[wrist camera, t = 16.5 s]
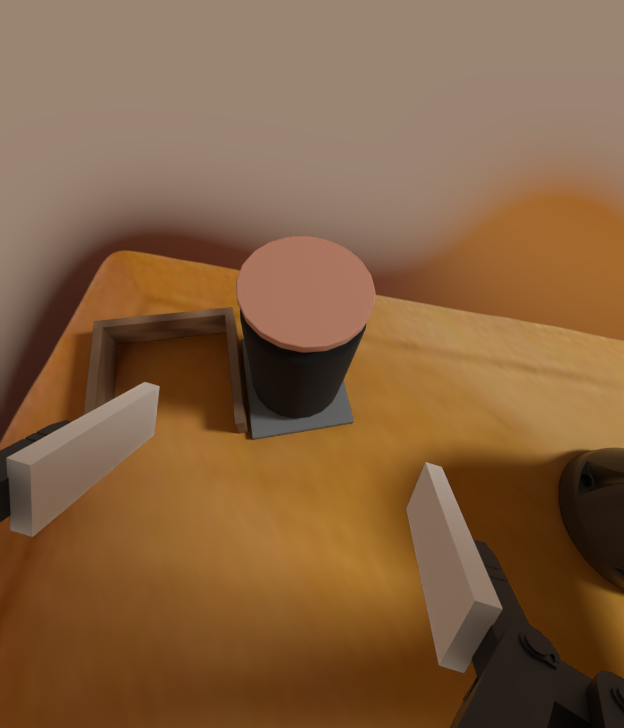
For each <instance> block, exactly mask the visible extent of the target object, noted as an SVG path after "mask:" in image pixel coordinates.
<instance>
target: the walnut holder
mask: <svg viewBox="0 0 624 728" xmlns="http://www.w3.org/2000/svg"><path fill="white" fill-rule="evenodd" d="M223 332H227V342H228V353H229V364H230V375H231V386H232V396H233V407H234V418H235V425H236V427H237V430H238V432H239V434H240V433H246V432H248V428H247V419H246V410H245V401H244V391H243V382H242V373H241V364H240V354H239V345H238V336H237V327H236V321H235V316H234V312H233V307H230V308H220V309H210V310H200V311H190V312H181V313H171V314H161V315H151V316H141V317H131V318H121V319H111V320H101V321H94V325H93V334H92V343H91V352H90V361H89V370H88V380H87V389H86V398H85V407H84V415H85V414H87V413H89V412H91V411H93V410H94V409H96V408H98V407H100V406H102V405H104V404H105V403H107V402H109V401H111V400H113V399H114V388H115V374H116V360H117V346H118V344H126V343H135V342H144V341H152V340H161V339H170V338H179V337H188V336H197V335H206V334H215V333H223Z"/></svg>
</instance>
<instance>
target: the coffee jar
mask: <svg viewBox="0 0 624 728" xmlns="http://www.w3.org/2000/svg"><path fill="white" fill-rule="evenodd" d="M236 289H237V302H238V305H239V307H240V319H241V325H242V330H243V335H244V341H245V346H246V351H247V356H248V361H249V366H250V372H251V377H252V382H253V387H254V389H255V391H256V394H257V396H258V398H259V399H260V401H261V402H262V403H263V404H264V405H265V406H266V407H267V408H268V409H269V410H271V411H273V412H275V413H276V414H278V415H280V416H284V417H289V418H294V419H296V418H306V417H311V416H313V415H315V414H318V413H320V412H322V411H323V410H324V409H326V408H327V407H328V406H329V405H330V404H331V403H332V402H333V400H334V398H335V397H336V395H337V393H338V391H339V389H340V386H341V384H342V382H343V380H344V377H345V375H346V373H347V370H348V368H349V366H350V363H351V361H352V359H353V356H354V354H355V352H356V350H357V347H358V345H359V343H360V340H361V338H362V336H363V333H364V331H365V328H366V322H367V320H368V319H369V317H370V315H371V313H372V312H373V308H374V301H375V289H374V285H373V281H372V277H371V275H370V273H369V272H368V270H367V269H366V267H365V266H364V264H363V263H362V261H361V260H360V259H358V258H357V257H356V256H355V255H354V254H353V253H351V252H350V251H349V250H348V249H346V248H344V247H342V246H340V245H338V244H336V243H333V242H331V241H329V240H325V239H320V238H315V237H311V236H301V237H300V236H297V237H286V238H283V239H279V240H275V241H272V242H270V243H268V244H266V245H265V246H263V247H261V248H259V249H258V250H256V251H254V252H253V254H252V255H251V256H250V257H249V258H248V259H247V260H246V262H245V263H244V264H243V265H242V268H241V271H240V273H239V276H238V278H237V281H236Z"/></svg>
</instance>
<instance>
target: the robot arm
mask: <svg viewBox="0 0 624 728" xmlns="http://www.w3.org/2000/svg"><path fill="white" fill-rule="evenodd" d="M159 387H160V386H157V385H154V384H150V383H147V382H144V383H142V384H140V385H138V386H136V387H134V388H133V389H131V390H129V391H127V392H125V393H124V394H122V395H120V396H118V397H116V398H114V399H113V400H111V401H109V402H107V403H105V404H104V405H102V406H100V407H98V408H96V409H94V410H93V411H91V412H89V413H87V414H85V415H84V416H82V417H80V418H78V419H76V420H74V421H73V422H70V421H67V420H66V421H62V422H59V423H55V424H52V425H49V426H47V427H45V428H43V429H41V430H39V431H37V433H36V434H35V433H34V434H32V435H30V436H28V437H26V439H22V440H20V441H18V442H16V443H14V444H12V445H11V446H9V447H7V448H5V449H3V450H1V451H0V522H1V521H3V520H4V519H6V518H7V517H8V516H10V530H11V531H14V532H18V533H21V534H24V535H27V536H30V537H33V536H35V535H36V534H37V533H38V532H39V531H40V530H42V529H43V528H44V527H45V526H46V525H48V524H49V523H50V522H51V521H52V520H54V519H55V518H56V517H57V516H58V515H60V514H61V513H62V512H63V511H64V510H65V509H67V508H68V507H69V506H70V505H71V504H73V503H74V502H75V501H76V500H77V499H79V498H80V497H81V496H82V495H83V494H85V493H86V492H87V491H88V490H89V489H90V488H92V487H93V486H94V485H95V484H96V483H98V482H99V481H100V480H101V479H102V478H104V477H105V476H106V475H107V474H108V473H110V472H111V471H112V470H113V469H114V468H116V467H117V466H118V465H119V464H120V463H121V462H123V461H124V460H125V459H126V458H127V457H129V456H130V455H131V454H132V453H133V452H135V451H136V450H137V449H138V448H139V447H141V446H142V445H143V444H144V443H145V442H146V441H148V440H149V439H150V438H151V437H152V436H154V434H155V424H156V415H157V406H158V396H159ZM559 501H560V508H561V512H562V516H563V519H564V522H565V525H566V527H567V530H568V532H569V534H570V536H571V538H572V540H573V541H574V543H575V545H576V546H577V548H578V549H579V551H580V552H581V553H582V555H583V556H584V557H585V559H586V560H587V561H588V562H589V563H590V564H591V565H592V566H593V567H594V568H595V569H596V570H597V571H598V572H599V573H600V574H601V575H602V576H604V577H605V578H606V579H607V580H609V581H610V582H612V583H613V584H615V585H616V586H618V587H620V588H622V589H624V448H604V449H598V450H594V451H590V452H586V453H583V454H581V455H579V456H577V457H575V458H574V459H573V460H572V461H571V462H570V463H569V464H568V465H567V467H566V468H565V470H564V472H563V474H562V477H561V481H560V487H559ZM406 511H407V516H408V520H409V525H410V530H411V535H412V540H413V544H414V549H415V554H416V559H417V564H418V568H419V573H420V578H421V583H422V588H423V592H424V597H425V602H426V607H427V611H428V616H429V621H430V626H431V631H432V635H433V640H434V645H435V650H436V655H437V659H438V664H439V666H442V667H445V668H448V669H452V670H455V671H458V672H461V673H465V671H466V669H467V668H468V666H469V664H470V663H471V661H473V665H474V668H475V671H476V675H477V677H476V679H475V681H474V682H473V684H472V685H471V687H470V689H469V690H468V692H467V693H466V695H465V697H464V698H463V700H464V701H463V703H462V705H461V707H460V709H459V710H458V712H457V714H456V716H455V718H454V720H453V722H452V724H451V726H450V728H624V679H623V678H621V677H619V676H617V675H615V674H613V673H612V672H606V671H601V672H600V673H598V674H597V675H596V676H595V677H594V679H593V680H592V679H591V678H589V677H587V676H586V675H584V674H582V673H581V672H579V671H577V670H576V669H574V668H572V667H571V666H569V665H567V664H566V663H564V662H563V661H561V659H560V657H559V655H558V652H557V651H556V650H555V648H554V647H553V645H552V644H551V643H550V641H549V640H548V639H547V638H546V637H545V636H544V635H543V634H542V633H541V632H539V631H538V630H536V629H535V628H533V627H532V626H530V625H529V623H528V621H527V619H526V617H525V615H524V613H523V611H522V609H521V607H520V605H519V603H518V601H517V599H516V597H515V595H514V593H513V590H512V588H511V586H510V584H508V580H507V578H506V576H505V574H504V572H502V568H501V566H500V564H499V562H498V559H497V557H496V556H495V555H494V553H493V552H492V551H491V550H490V549H489V547H488V546H487V545H486V544H485V543H483V542H480V541H476V540H473V538H472V536H471V534H470V531H469V529H468V527H467V525H466V522H465V520H464V518H463V515H462V513H461V511H460V508H459V506H458V504H457V501H456V499H455V497H454V494H453V492H452V490H451V487H450V485H449V483H448V480H447V478H446V476H445V473H444V471H443V469H442V467H441V466H437V465H434V464H430V463H427V462H425V464H424V467H423V469H422V472H421V474H420V476H419V479H418V481H417V484H416V486H415V489H414V491H413V493H412V496H411V498H410V501H409V503H408V505H407V508H406Z"/></svg>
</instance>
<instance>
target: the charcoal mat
mask: <svg viewBox="0 0 624 728" xmlns="http://www.w3.org/2000/svg"><path fill="white" fill-rule="evenodd" d="M242 349H243V357H244V366H245V375H246V384H247V393H248V402H249V410H250V419H251V428H252V437H253V440H255V439H261V438H268V437H274V436H280V435H286V434H292V433H298V432H304V431H310V430H316V429H322V428H328V427H334V426H340V425H346V424H352V423H353V422H354V420H353V416H352V412H351V408H350V404H349V400H348V396H347V392H346V388H345V385H344V381H343V382H342V384H341V386H340V389H339V391H338V393H337V395H336V397H335V398H334V400H333V402H332V403H331V404H330V405H329V406H328V407H327V408H326V409H324V410H323V411H322V412H320V413H318V414H315V415H313V416H311V417H306V418H296V419H294V418H289V417H284V416H280V415H278V414H276V413H275V412H273V411H271V410H269V409H268V408H267V407H266V406H265V405H264V404H263V403H262V402H261V401H260V399H259V398H258V396H257V394H256V391H255V389H254V387H253V382H252V377H251V372H250V366H249V361H248V356H247V351H246V346H245V341H244V340H242Z"/></svg>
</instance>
